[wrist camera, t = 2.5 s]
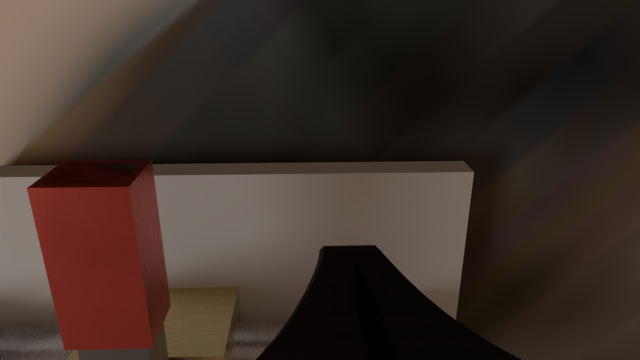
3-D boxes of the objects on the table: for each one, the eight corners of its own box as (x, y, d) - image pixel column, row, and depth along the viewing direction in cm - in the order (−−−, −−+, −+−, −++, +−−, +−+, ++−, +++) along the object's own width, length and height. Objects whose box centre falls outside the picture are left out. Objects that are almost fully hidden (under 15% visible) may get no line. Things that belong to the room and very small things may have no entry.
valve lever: (196, 455, 16) (183, 508, 15) (116, 457, 16) (95, 511, 14) (159, 160, 12) (137, 187, 11) (55, 161, 12) (17, 188, 11)
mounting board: (463, 160, 19) (474, 172, 17) (432, 435, 24) (438, 458, 23) (-137, 167, 18) (-167, 179, 17) (-36, 449, 23) (-54, 473, 22)
